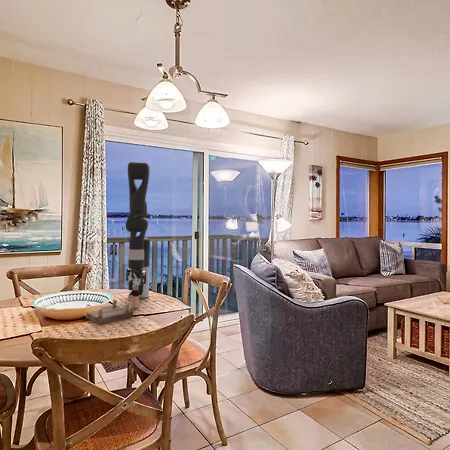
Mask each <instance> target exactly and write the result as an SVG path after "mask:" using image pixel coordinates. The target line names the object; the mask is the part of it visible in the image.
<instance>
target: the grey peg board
mask: <svg viewBox="0 0 450 450" xmlns="http://www.w3.org/2000/svg"><path fill="white" fill-rule="evenodd" d="M117 302H118V301H117V299H113V300H112V305H108V306H104V307H103V306H102V307H103V308H102V307H100V308H101V309H100V310H98V311H95V312H91V313H87V316H86V318H85V319H87V320H89V321H91V322H93V323H96V324H97V325H99V326H100V325H104V324H105V325H106V324H109V323H114V322H118V321H123V320H127V319H131V318H132V319H133V318H134V311H133V310H131V309H130V303H128V304H125V308H124V307H121V306H119V305H117ZM87 306H90V307H91V304H86V307H87Z"/></svg>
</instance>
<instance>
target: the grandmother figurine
mask: <svg viewBox="0 0 450 450" xmlns="http://www.w3.org/2000/svg"><path fill="white" fill-rule="evenodd" d="M138 285H139V284H137V283H134V284H133V289H134V290H132V291H131V290H130V292H129V293H128V296H127V299H128V300H129V299H130V298H131V299H130V307H129V310H130V311H133V310H139V309H140V306H139V305H140V298H139V295H141V297H143V294H142V293H139V292H138Z"/></svg>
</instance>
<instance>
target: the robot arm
mask: <svg viewBox="0 0 450 450" xmlns="http://www.w3.org/2000/svg"><path fill="white" fill-rule="evenodd" d="M150 171H151V170H150V165H149V163H148V162H143V161H129V162H128V164H127V177H128V191H129V205H128V206H129V214H128V216H127V219H126V221H125V230H126V231H127V232H129V233H130V234H129V235H130V236H129V240H128V242H129V245H128V246H129V247H128V253H127V254H128V260H127V262H128V263H127V264H128V265H127V267H128V268H127V269H126V271H125V272H126V273H125V275H126V276H125V281H126V282H127V283H128V291H130V292H131V291H132V290H134V289H133V284H134V283H137V284H139V285H138V292H139V293H142V294H143V297H141V295H139V299H145V298H148V297H150V251H151V240H150V238H149V237H145V236H146V233H147V230H148V227H149V222H148V220H147V216H148V205H147V201H146V198H147V197H146V196H147V192H148V186H149V180H150ZM139 180H140V181H141V184H140V185H139V187H138V186H137V184H136V181H139ZM137 233H139V235H137Z"/></svg>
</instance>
